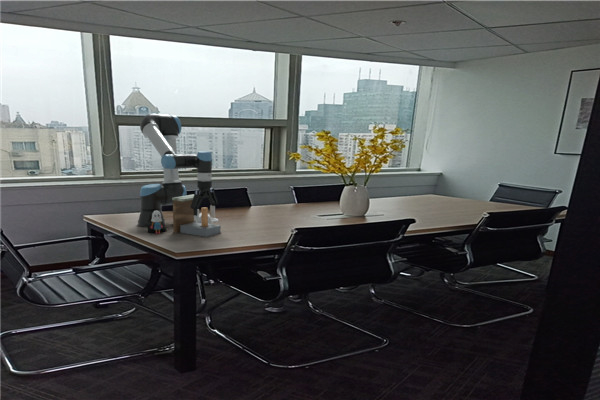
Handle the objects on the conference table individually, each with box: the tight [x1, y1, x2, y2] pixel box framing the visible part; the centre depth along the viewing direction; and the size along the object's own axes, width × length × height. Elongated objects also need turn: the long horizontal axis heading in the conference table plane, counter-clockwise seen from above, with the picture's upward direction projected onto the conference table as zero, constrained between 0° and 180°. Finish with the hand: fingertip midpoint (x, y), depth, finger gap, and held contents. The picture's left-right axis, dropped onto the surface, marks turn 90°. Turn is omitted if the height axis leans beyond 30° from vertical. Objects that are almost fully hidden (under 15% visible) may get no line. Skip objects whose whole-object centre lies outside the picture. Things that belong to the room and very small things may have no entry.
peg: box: [200, 207, 209, 227], centre depth 239 cm, size 3×3×14 cm
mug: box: [199, 212, 219, 224], centre depth 256 cm, size 12×10×8 cm
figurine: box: [147, 210, 167, 235], centre depth 239 cm, size 10×11×12 cm
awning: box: [172, 193, 201, 234], centre depth 244 cm, size 8×17×19 cm, turn 153°
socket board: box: [179, 222, 221, 237], centre depth 241 cm, size 18×12×4 cm, turn 63°
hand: (204, 219), depth 239 cm, fingers open, 13 cm apart
